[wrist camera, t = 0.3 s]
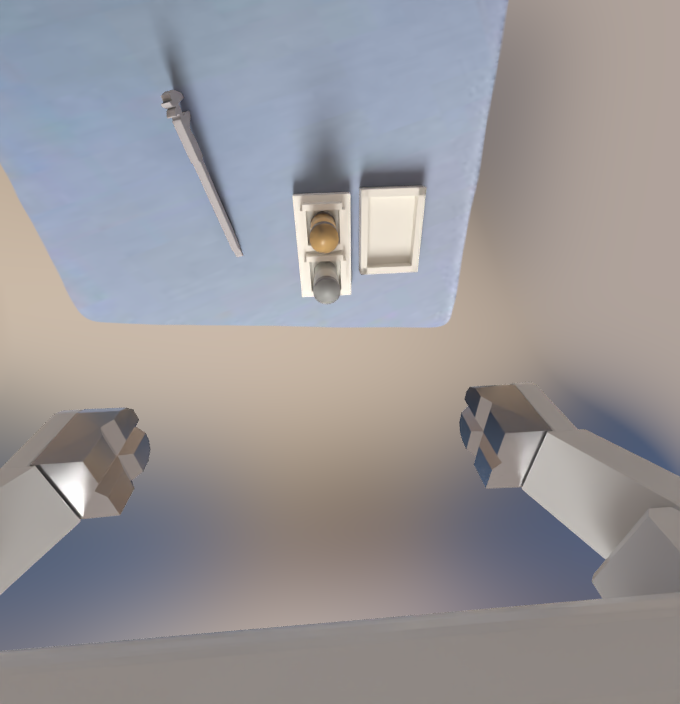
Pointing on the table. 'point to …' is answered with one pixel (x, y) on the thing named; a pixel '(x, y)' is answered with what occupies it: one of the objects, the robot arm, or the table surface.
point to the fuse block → (316, 268)
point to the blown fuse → (323, 233)
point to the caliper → (198, 161)
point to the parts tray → (390, 228)
